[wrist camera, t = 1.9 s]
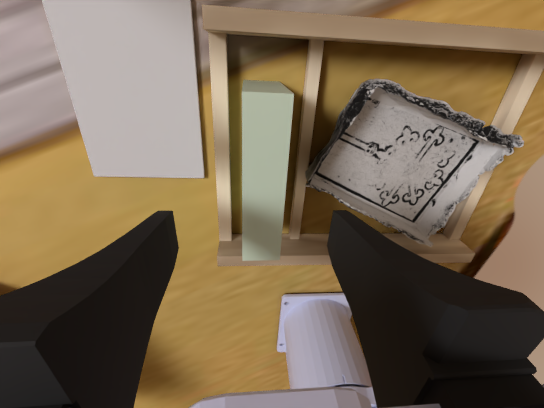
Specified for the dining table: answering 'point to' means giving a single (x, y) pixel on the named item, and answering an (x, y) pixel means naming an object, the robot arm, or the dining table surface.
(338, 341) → the robot arm
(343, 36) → the birch rack
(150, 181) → the dining table surface
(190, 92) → the light gray panel
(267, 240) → the pale green block
